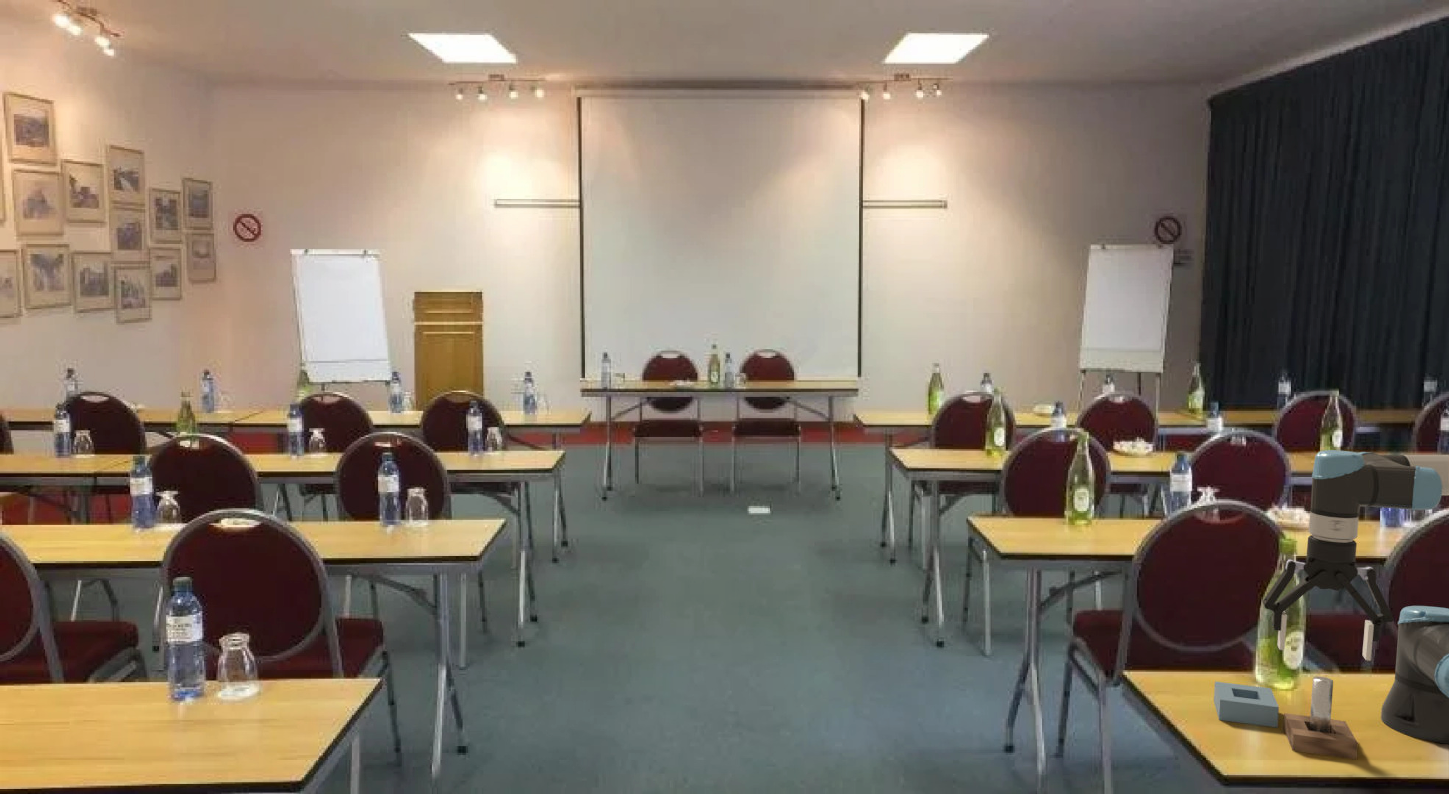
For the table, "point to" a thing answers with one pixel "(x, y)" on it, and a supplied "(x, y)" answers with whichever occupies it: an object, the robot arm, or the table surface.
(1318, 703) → the pin
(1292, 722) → the block
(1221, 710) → the docking socket
